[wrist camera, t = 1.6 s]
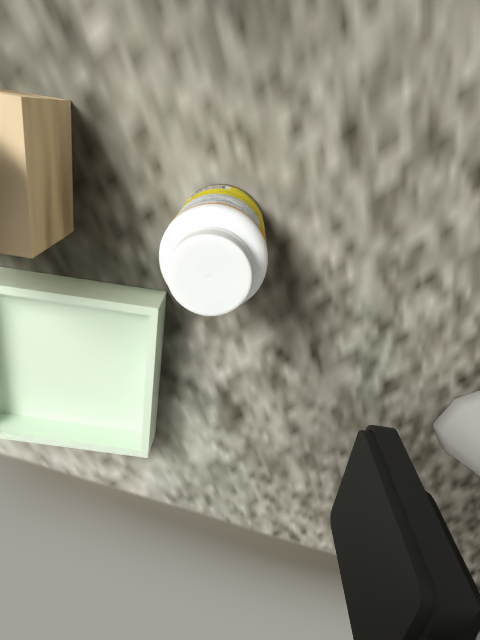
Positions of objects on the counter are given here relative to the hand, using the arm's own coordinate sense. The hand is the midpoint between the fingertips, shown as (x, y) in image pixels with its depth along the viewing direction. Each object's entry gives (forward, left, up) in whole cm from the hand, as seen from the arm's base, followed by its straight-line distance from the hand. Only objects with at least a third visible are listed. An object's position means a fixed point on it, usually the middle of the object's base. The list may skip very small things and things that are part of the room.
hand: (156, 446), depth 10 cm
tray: (+10, +12, -21) cm, 26 cm away
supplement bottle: (0, 0, -21) cm, 21 cm away
